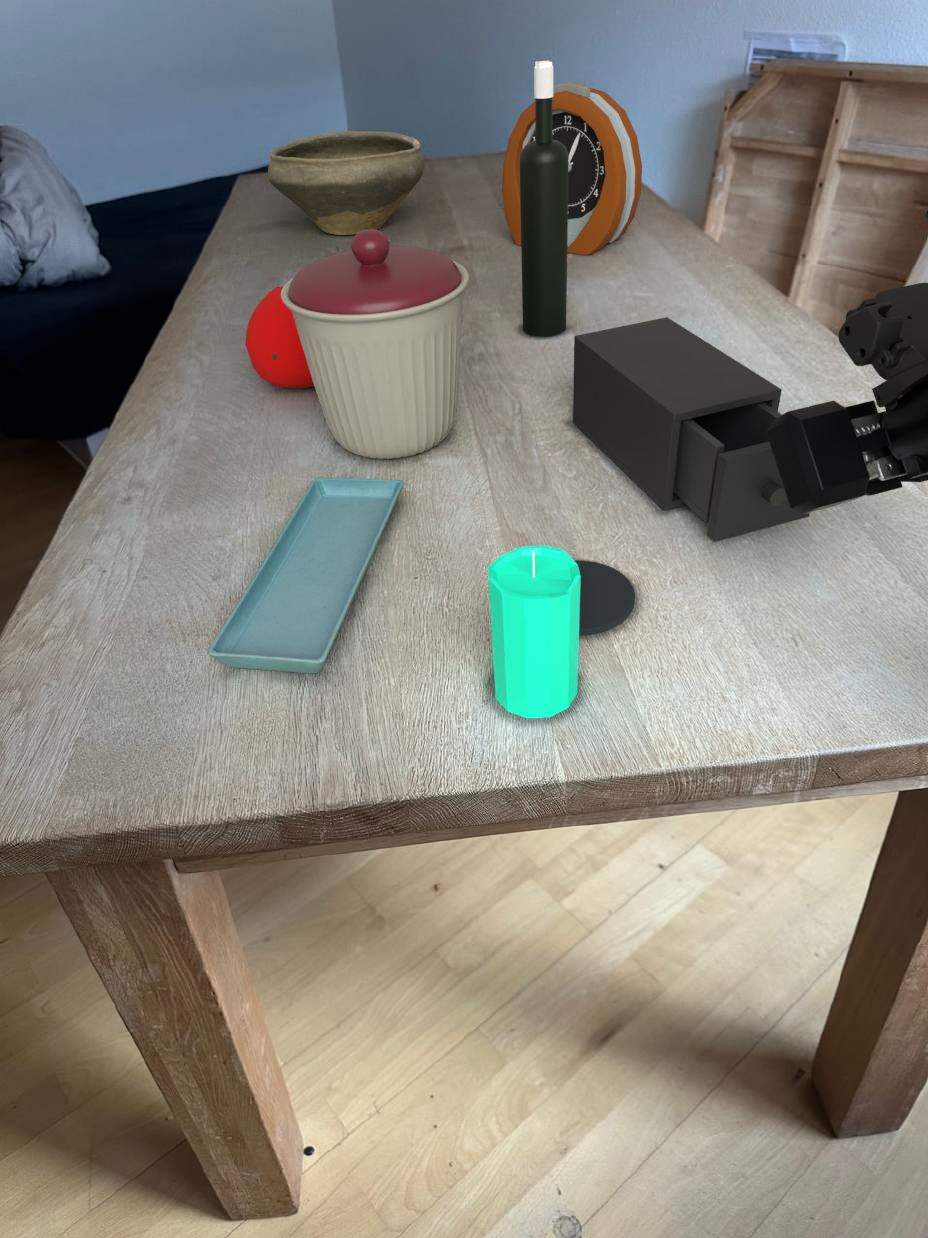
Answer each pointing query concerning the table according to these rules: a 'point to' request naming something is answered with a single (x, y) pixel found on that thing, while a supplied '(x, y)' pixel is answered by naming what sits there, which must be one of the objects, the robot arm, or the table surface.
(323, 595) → the rectangular tray
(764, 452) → the drawer
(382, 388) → the canister
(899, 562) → the table surface
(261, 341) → the tomato
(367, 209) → the bowl
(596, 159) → the alarm clock
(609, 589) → the coaster
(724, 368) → the cabinet
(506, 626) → the candle
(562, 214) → the wine bottle
